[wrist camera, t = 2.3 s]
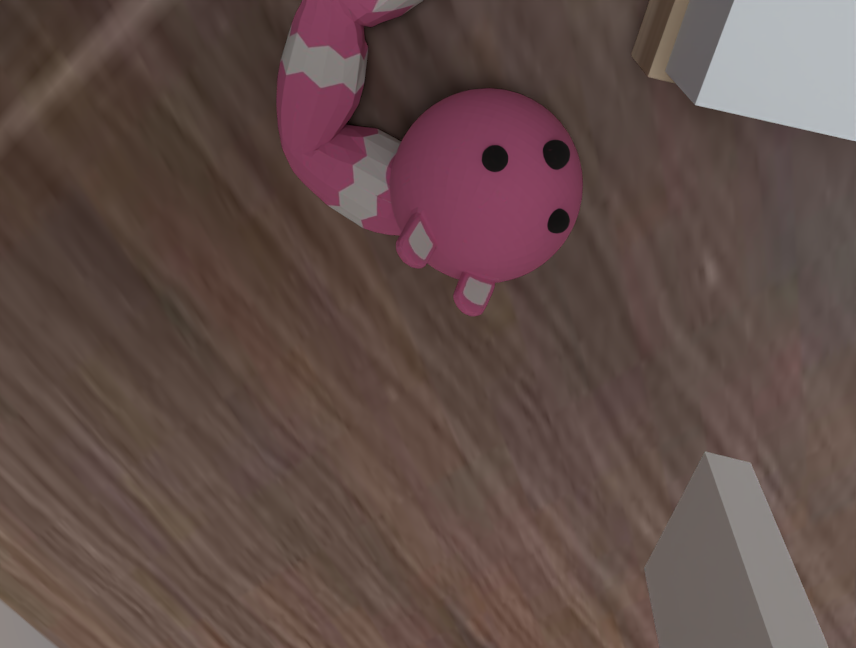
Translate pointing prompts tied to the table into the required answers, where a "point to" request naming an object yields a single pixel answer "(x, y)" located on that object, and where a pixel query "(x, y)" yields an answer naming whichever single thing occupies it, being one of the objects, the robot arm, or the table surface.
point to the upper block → (771, 61)
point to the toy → (426, 159)
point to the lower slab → (658, 36)
